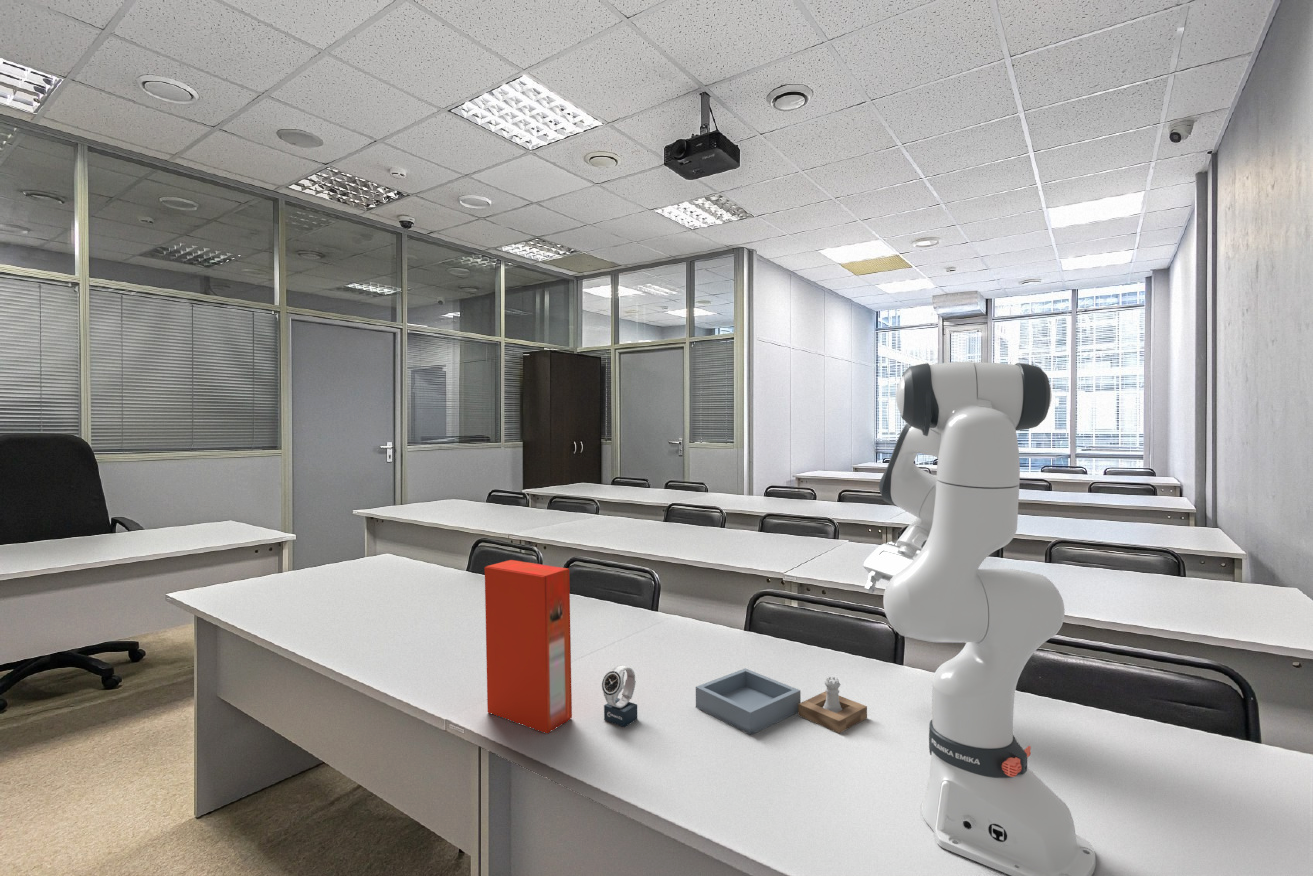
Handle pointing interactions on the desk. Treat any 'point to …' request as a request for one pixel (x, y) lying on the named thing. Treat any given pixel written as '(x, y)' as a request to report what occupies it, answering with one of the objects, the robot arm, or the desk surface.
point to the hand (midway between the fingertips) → (881, 596)
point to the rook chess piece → (832, 695)
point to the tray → (748, 700)
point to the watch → (615, 707)
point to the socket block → (829, 719)
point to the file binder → (528, 643)
